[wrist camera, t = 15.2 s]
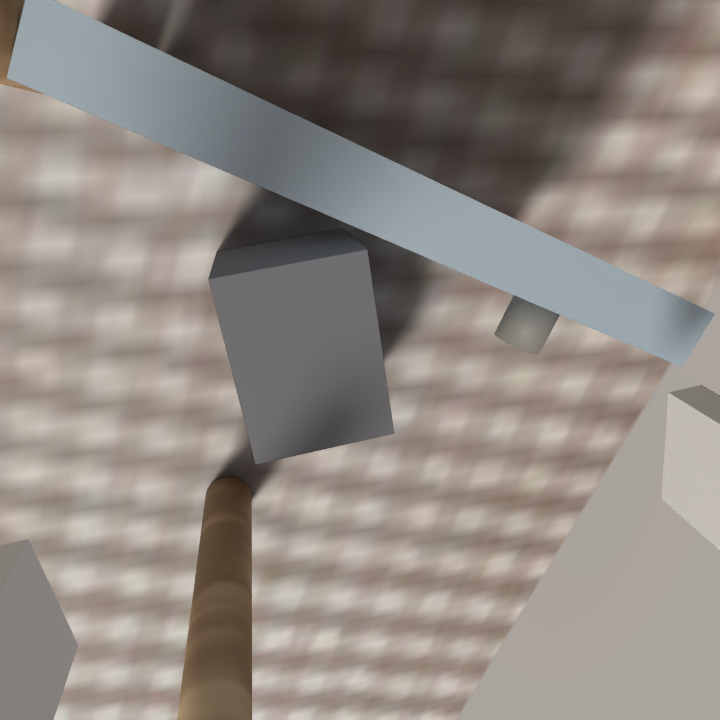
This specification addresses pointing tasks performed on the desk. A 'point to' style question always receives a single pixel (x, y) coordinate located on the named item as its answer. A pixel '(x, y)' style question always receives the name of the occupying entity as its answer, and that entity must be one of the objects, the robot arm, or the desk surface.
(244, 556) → the door frame
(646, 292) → the door
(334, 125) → the desk surface
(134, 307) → the desk surface
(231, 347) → the block
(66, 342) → the desk surface
